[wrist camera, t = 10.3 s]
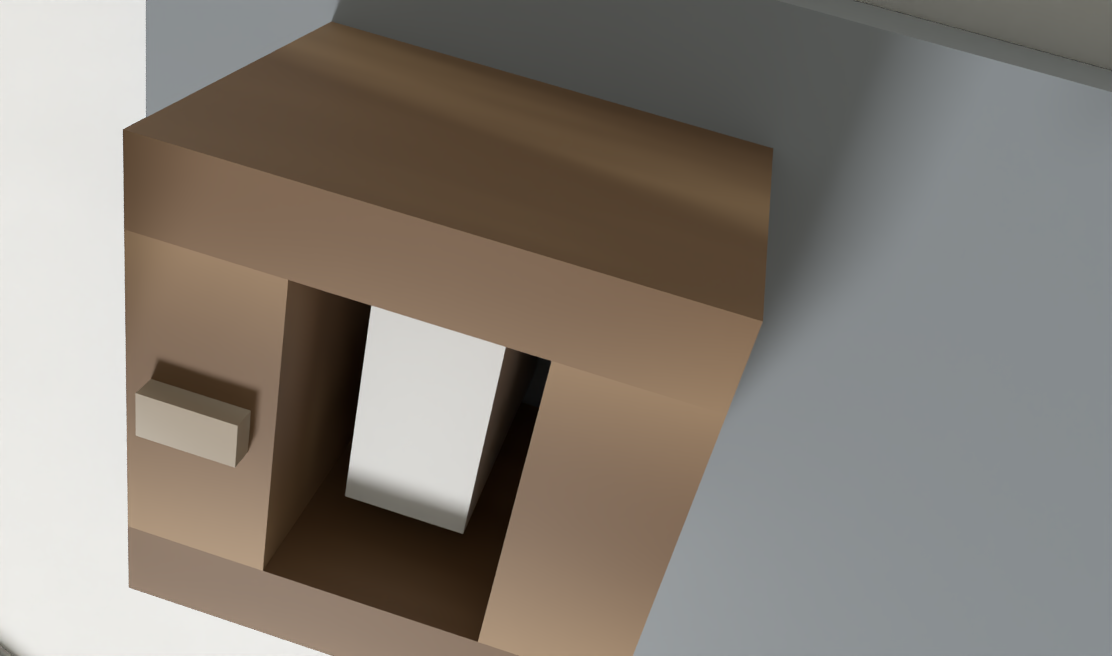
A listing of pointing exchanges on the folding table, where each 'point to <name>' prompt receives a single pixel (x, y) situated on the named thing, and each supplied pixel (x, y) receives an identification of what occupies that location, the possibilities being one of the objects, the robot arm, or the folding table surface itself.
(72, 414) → the folding table surface
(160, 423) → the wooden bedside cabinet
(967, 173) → the shaft plate
